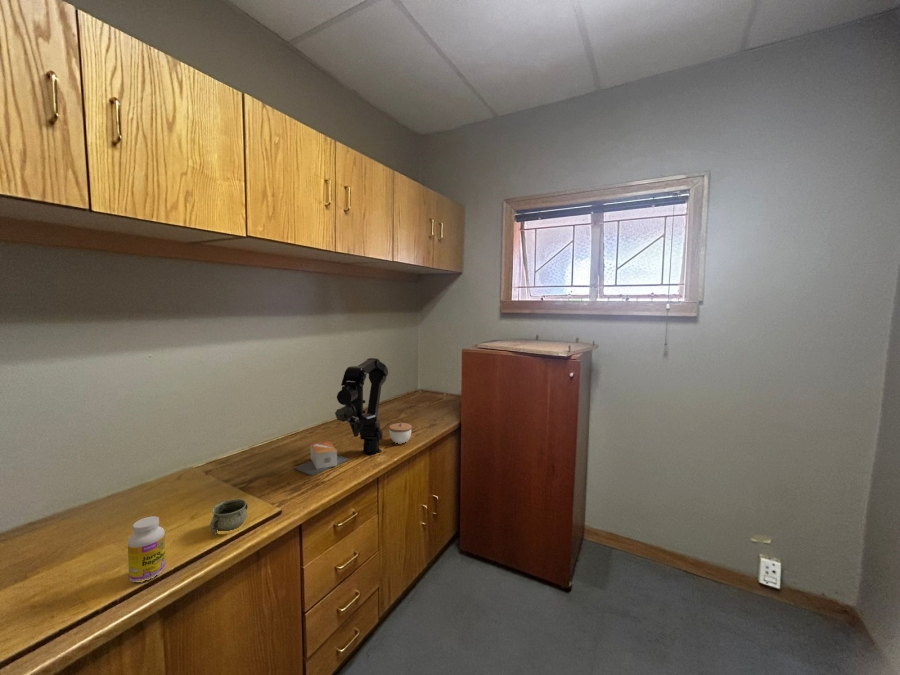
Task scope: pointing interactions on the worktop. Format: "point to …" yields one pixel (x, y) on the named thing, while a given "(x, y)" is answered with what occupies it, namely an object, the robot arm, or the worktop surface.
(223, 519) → the vessel
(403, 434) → the lidded jar
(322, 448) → the small box
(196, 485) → the worktop surface
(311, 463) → the mat
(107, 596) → the worktop surface
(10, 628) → the worktop surface
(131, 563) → the supplement bottle
